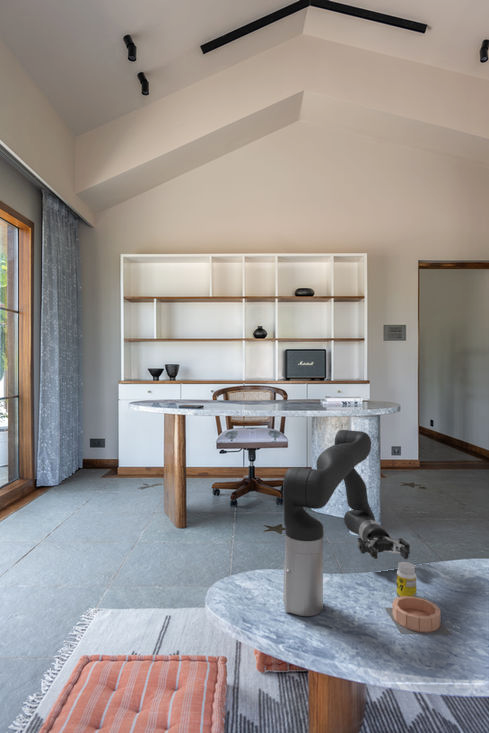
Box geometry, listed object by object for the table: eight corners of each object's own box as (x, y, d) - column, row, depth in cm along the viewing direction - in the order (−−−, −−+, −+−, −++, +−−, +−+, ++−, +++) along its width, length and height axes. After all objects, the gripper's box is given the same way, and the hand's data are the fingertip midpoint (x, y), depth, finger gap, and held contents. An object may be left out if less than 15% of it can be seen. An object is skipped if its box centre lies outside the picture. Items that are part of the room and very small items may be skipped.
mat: (401, 635, 94) (401, 633, 94) (384, 608, 105) (384, 607, 105) (451, 635, 94) (451, 634, 94) (429, 609, 105) (429, 608, 105)
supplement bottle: (393, 593, 113) (393, 560, 113) (411, 593, 113) (410, 560, 113) (401, 603, 108) (401, 568, 108) (419, 602, 108) (419, 568, 109)
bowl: (402, 632, 94) (402, 618, 95) (387, 608, 104) (387, 595, 105) (448, 632, 95) (448, 618, 95) (428, 609, 105) (428, 596, 105)
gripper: (351, 523, 138) (366, 541, 122) (395, 523, 138) (416, 542, 122) (351, 547, 138) (366, 569, 122) (395, 547, 138) (416, 569, 122)
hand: (391, 555), depth 122 cm, fingers open, 8 cm apart
